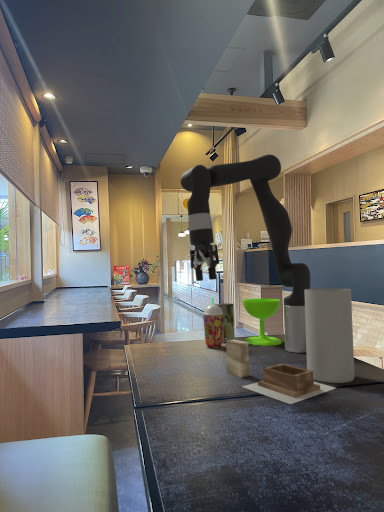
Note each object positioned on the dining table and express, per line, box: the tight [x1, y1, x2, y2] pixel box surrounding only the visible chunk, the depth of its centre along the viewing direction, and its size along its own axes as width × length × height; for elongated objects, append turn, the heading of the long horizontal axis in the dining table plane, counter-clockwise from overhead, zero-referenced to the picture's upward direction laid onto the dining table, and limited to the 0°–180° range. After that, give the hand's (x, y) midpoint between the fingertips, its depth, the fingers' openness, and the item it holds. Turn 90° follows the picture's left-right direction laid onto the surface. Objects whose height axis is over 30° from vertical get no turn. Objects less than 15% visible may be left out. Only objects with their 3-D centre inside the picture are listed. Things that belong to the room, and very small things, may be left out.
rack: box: [257, 363, 320, 398], centre depth 94 cm, size 10×12×4 cm
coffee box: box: [215, 302, 236, 343], centre depth 161 cm, size 9×6×16 cm
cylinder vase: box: [305, 287, 355, 384], centre depth 103 cm, size 12×12×25 cm
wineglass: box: [242, 298, 282, 347], centre depth 155 cm, size 16×16×18 cm
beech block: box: [225, 339, 250, 379], centre depth 106 cm, size 3×6×10 cm, turn 35°
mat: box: [241, 381, 336, 405], centre depth 94 cm, size 18×16×1 cm
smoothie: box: [202, 297, 223, 348], centre depth 147 cm, size 8×8×20 cm
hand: (206, 280), depth 113 cm, fingers open, 8 cm apart
